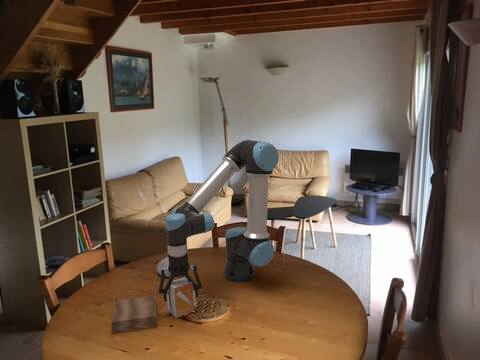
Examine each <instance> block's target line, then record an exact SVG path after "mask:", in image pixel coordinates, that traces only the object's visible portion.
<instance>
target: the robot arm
mask: <svg viewBox="0 0 480 360" xmlns="http://www.w3.org/2000/svg"><path fill="white" fill-rule="evenodd" d="M279 158H280V155H279V152H278V150H277V148H276V147H275V146H274V144H273V143H270V142H266V141H261V140H252V139H245V140H242V141H240V142H237V144H235V145H234V146H232V147H231V148H230V149H229V150H228V151H227V152H226V153H225V154H224V155H223V156H222V161H221V162H220V164H218V166H217V167H216V168H215V169H214V170H213V171H212V172H211V174H209V176H208V177H207V178H206V179H204V181H203V182H202V184H201V185H200V186H199V187H198V188H196V190H195V191H194V192H193V194H192V195H191V196H190V197H188V199H187V200H186V201H185V202H184V204H183V205H179V206H175V208H173V210H172V212H171V213H170V214H169V215H166V217H165V232H166V241H167V242H166V244H167V245H166V247H167V255H168V256H167V257H168V260H169V266H168V268H163V267H162V268H161V273H162V275H160V276H161V277H160V281H159V285H158V294H162V295H163V301H164V302H167V310H168V311H170V306H169V293H168V289H169V287H170V285H171V283H172V281H174V280H175V278H179V277H180V278H181V277H182V278H185V277H186V278H187V280H188V281H189V282H190V283H191V282H192V283H193V299H194V307H196V306H197V304H196V300H197V299H196V298H198V297H199V289H203V285H202V282H201V278H200V276H199V272H198V268H197V267H198V266H197V264H196V263H193V264H189V263H190V262H189V256H188V254H189V253H188V240H187V239H188V237H189V238H190V237H192V236H193V237H194V236H196V235H197V236H198V235H202V234H206V233H208V232H211V231H213V230H214V228H215V219H214V216H213V215H212V214H211V213H210V212H203V213H201V212H202V211H203V209H205V207H206V206H207V205H208V204H209V203H210V202H211V201H212V200H213V198H214V197H215V196H216V195H217V194H218V193H219V192H220V191H221V189H222V188H223V187H224V186H225V185H226V183H227V182H228V181H229V180H230V179H231V178H232V177H233V175H234V174H236V173H239V172H240V171H241V170H242V169H243V168H245V174H246V175H247V176H248V191H247V192H248V193H247V194H248V195H247V216H246V217H247V219H246V220H247V221H246V223H247V224H246V226H237V227H232V228H229V229H227V230H226V231H225V234H224V236H225V237H224V238H225V254H226V260H225V265H224V267H223V277H224V278H225V279H226V280H227V281H230V282H236V283H240V282H246V281H250V280H252V279H254V277H255V276H256V269H255V266H256V267H264V266H266V265H268V264H269V263H270V262H271V261H272V259H273V257H274V255H275V246H274V245H273V243H272V242H270V239H271V238H270V236H271V235H270V232H268V231H267V228H268V227H267V226H268V202H269V201H268V200H269V182H270V180H269V178H270V177H271V176H272V175H273V170H274V169H276V168H277V165H278V164H279ZM190 270H191V271H192V272H193V274H194V277H195V280H196V281H194V280H193V278H192V277H191V275H190V274H189V272H188V271H190ZM167 271H169V272H170V273H171V275H170V277H168V280H167V282H166V284H165V286H164V283H165V279H166V277H165V274H166V273H167ZM196 283H197V284H196Z"/></svg>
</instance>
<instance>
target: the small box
mask: <svg viewBox="0 0 480 360" xmlns="http://www.w3.org/2000/svg"><path fill="white" fill-rule="evenodd" d="M168 293H169V306H170V310H169V313H170V314H172V316H173V317H174V318H175V319H178V318H182V317H184V316H183V314H186V313H188V312H192V311H194V312H195V306H194V299H193V283H192V282H191V283H190V282H189V281H188V280H187V278H186V277H185V276H184V277H182V278H181V277H180V278H177V279H174V280H173V281H172V283H171V285H170V287H169V289H168Z"/></svg>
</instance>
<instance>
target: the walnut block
mask: <svg viewBox="0 0 480 360" xmlns="http://www.w3.org/2000/svg"><path fill="white" fill-rule="evenodd" d="M157 307H158V305H157V295H151V296H144V297H136V298H135V297H134V298H129V299H128V298H126V299H120V300H115V302H114V307H113V313H112V318H111V328H112V329H111V330H112V334H118V333H123V332H124V333H125V332H131V331H138V330H145V329H153V328H158V318H157V317H158V312H157V311H158V308H157Z"/></svg>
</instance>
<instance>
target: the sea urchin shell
mask: <svg viewBox="0 0 480 360" xmlns="http://www.w3.org/2000/svg"><path fill="white" fill-rule="evenodd" d="M168 266H169V260H168V256H166V257H165V258H163V259H161V261H159V263H158V264H157V266H156V271H157V272H156V273H157V274H159V276H161V275H162V273H161V268H162V267H163V268H168ZM170 275H171V273H170V272H169V271H167V273H166V274H165V278H169V277H170Z"/></svg>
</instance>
